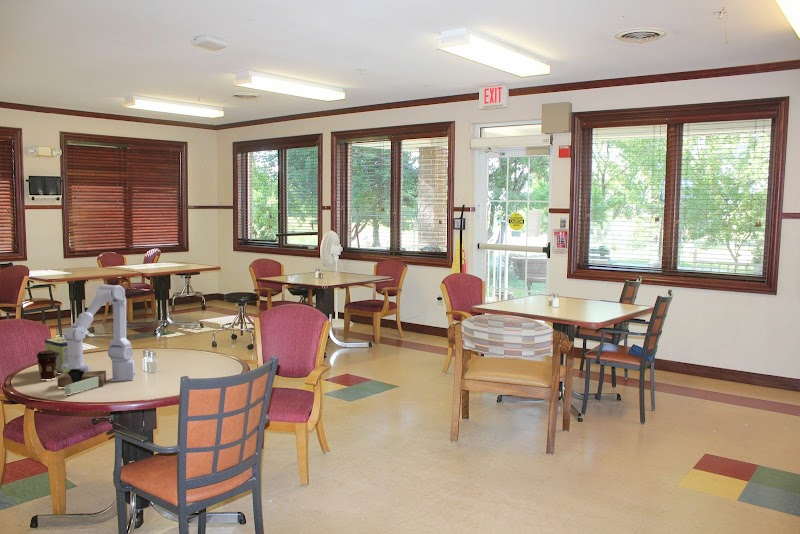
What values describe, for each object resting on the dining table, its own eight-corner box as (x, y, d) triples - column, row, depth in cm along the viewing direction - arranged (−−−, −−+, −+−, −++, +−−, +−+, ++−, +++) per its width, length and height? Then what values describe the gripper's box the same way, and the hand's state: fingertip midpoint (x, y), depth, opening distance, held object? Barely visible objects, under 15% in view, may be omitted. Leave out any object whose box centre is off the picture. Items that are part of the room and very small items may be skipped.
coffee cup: (35, 382, 301) (33, 354, 300) (39, 378, 309) (38, 350, 308) (56, 381, 303) (55, 353, 302) (60, 376, 311) (59, 349, 310)
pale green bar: (97, 386, 294) (97, 376, 294) (101, 386, 294) (100, 376, 293) (65, 396, 280) (64, 385, 279) (68, 396, 279) (67, 386, 278)
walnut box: (106, 381, 304) (105, 370, 303) (102, 386, 295) (102, 375, 295) (62, 384, 299) (62, 373, 299) (57, 389, 291) (57, 378, 290)
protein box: (66, 367, 330) (65, 335, 329) (84, 371, 322) (83, 339, 320) (45, 371, 322) (43, 339, 320) (63, 376, 313) (61, 343, 312)
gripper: (54, 355, 284) (56, 387, 285) (81, 358, 279) (82, 390, 280) (68, 352, 290) (69, 383, 291) (94, 355, 285) (95, 386, 286)
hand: (77, 386), depth 286 cm, fingers closed
